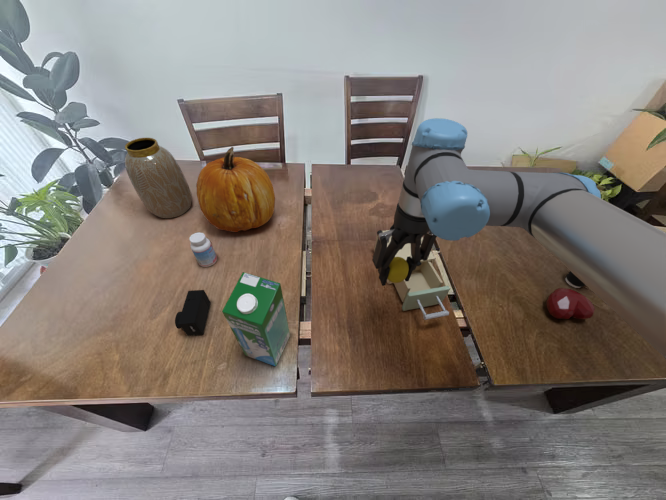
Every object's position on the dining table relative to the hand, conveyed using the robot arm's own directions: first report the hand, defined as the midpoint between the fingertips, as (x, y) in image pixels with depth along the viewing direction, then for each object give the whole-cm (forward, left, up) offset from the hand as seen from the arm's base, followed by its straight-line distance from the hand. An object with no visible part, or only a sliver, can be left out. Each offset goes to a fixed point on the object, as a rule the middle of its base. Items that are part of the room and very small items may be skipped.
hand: (393, 279), depth 69 cm
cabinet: (+17, -12, -17) cm, 27 cm away
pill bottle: (+31, +52, -17) cm, 63 cm away
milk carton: (-3, +34, -17) cm, 38 cm away
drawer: (+3, -12, -16) cm, 20 cm away
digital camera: (+9, +53, -17) cm, 56 cm away
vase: (+63, +68, -17) cm, 94 cm away
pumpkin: (+50, +40, -17) cm, 66 cm away
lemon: (0, 0, -1) cm, 1 cm away
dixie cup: (-2, -67, -17) cm, 69 cm away
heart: (-10, -54, -17) cm, 58 cm away
